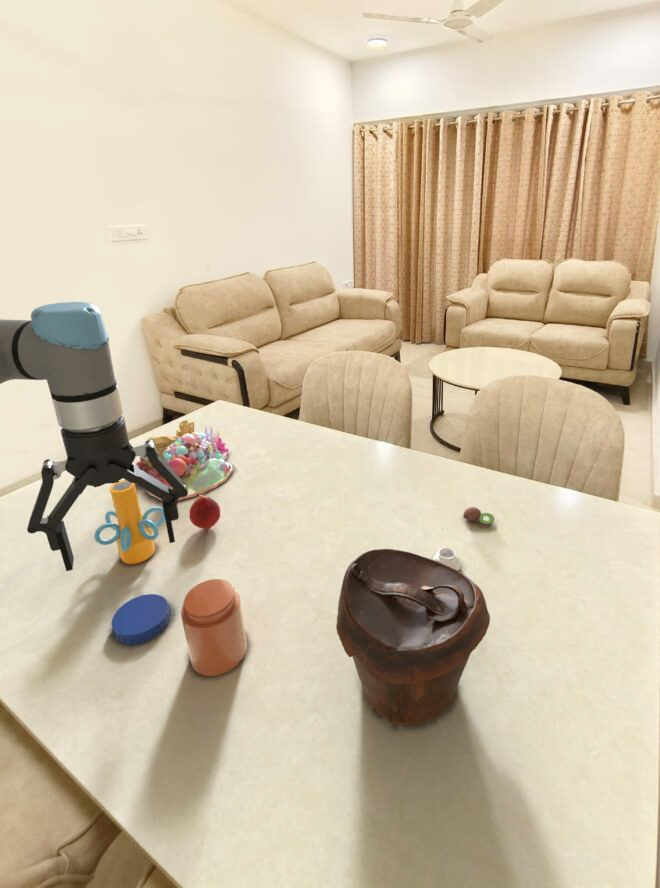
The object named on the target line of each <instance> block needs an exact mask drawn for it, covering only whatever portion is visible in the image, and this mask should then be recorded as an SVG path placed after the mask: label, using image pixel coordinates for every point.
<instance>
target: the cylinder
mask: <svg viewBox="0 0 660 888" xmlns="http://www.w3.org/2000/svg"><path fill="white" fill-rule="evenodd" d="M109 493H110V495H111V500H112V504H113V508H114V510H108V511H107V512H106V513H105V516H104V518H105V519H104V520H105V522H106V523H104V524H102V525H100V526H99V527H98V528H97V529H96V530H95V533H94V540H95V542H96V543H97V544H99V545H102V546H107V545H111V544H113V543H115V542H116V545H117V549H118V554H119V557H120V560H121V562H123V563H124V564H127V565H136V564H139V563H142V562H144V561H147V560H149V558H151V557H152V556H153V554H155V551H156V546H155V542H154V540H156V539H157V538H158V537H159V535H160V532H159V528H158V527H159V526H161V525H162V524H164V522H166V521H165V515H164V510H163V507H161V506H153V507H150V508H149V509H146V511H145V512H144V513H143V514H142V509H141V506H140V501H139V497H138V492H137V488H136V484H135V483H130V482H129V481H127V480H125V479H124V480H122V479H121V480H119V482H117V483H112V484H111V485H110V487H109ZM154 512H159V513H161V517H160V519H159V520H158V521H156V522H154V521H152V520H150V519H148V516H149V515H150V514H152V513H154ZM111 516H113V517H115V518H116V520H117V523H115V522H112V519H111ZM107 528H108V529H109V528H110V529H112V530H113V531H116V532H115V535H114V536H113V537H112V538H110V539H105V540H104V539H102V538H101V536H100V535H101V532H103V530H106V529H107ZM151 529H152V530H151Z"/></svg>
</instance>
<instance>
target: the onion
mask: <svg viewBox="0 0 660 888" xmlns="http://www.w3.org/2000/svg"><path fill="white" fill-rule="evenodd" d="M220 517H221V508H220V505H219V504H218V502H217V501H216V500H215V499H213V498H211V497H209V496H204V494H198V498H197V499H196V500H194V502H193V503H192V505H191V506H190V508H189V520H190V523H192V525H194V526H195V527H197V528H198V529H201V530H209V529H211V528H212V527H214V526H215V525H216V524H217V523H218V521H219V520H220Z"/></svg>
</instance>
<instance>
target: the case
mask: <svg viewBox="0 0 660 888" xmlns="http://www.w3.org/2000/svg"><path fill="white" fill-rule="evenodd" d="M485 598H486V597H485V595H484V593H483V591H482V590H481V588H480V586H479V585H477V584H476V583H475V582H473V581H472V580H471V579H470V577H468V576H467V575H466V574H464V573H463V572H461V571H460V570H456V569H454V568H451V567H449V566H447V565H444V564H442V563H440V562H438V561H435V560H433V558H432V559H431V558H428V557H425V556H422V555H419V554H416V553H413V552H410V551H405V550H400V549H393V548H378V549H377V548H376V549H370V550H367V551H364V552H363V553H361V554H359V555H358V556H356V558H354V560H353V561H351V562H350V563H349V565H348V567H346V571H345V572H344V575H343V579H342V583H341V588H340V593H339V598H338V605H337V615H336V625H335V628H336V633H337V635H338V638H339V640H340V643H341V646H342V648H343V650H344V652H345V654H346V655H347V656H348V657H349V658H351V657H352V660H353V663H354V665H355V666H354V667H355V669H356V672H357V676H358V677H359V680H360V683H361V687H362V690H363V694H364V696H365V698H366V699H367V701H368V702H369V704H370V706H371V707H372V708H373V709H374V710H375V712H377V713H378V714H379V715H381V716H382V717H384V718H385V719H387V720H388V721H389V722H390V723H393V724H395V725H398V726H407V725H408V726H409V725H419V724H424V723H426V722H430V721H431V720H434V719H435V718H438V717H439V716H440V715H441V714H443V713H444V712H445V711H446V710H447V709H448V708H449V706H450V705H451V704H452V702H453V700H454V697H455V693H456V690H457V688H458V686H459V683H460V681H461V678H462V676H463V674H464V670H465V668H466V665H467V663H468V661H469V659H470V656H471V654H472V653H473V651H474V650H476V649H477V647H479V644H480V643H481V642H482V641H483V639H484V637H485V636H486V634H487V631H488V629H489V626H490V623H491V615H490V612H489V610H488V605H487V602H486V599H485Z"/></svg>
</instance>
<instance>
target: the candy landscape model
mask: <svg viewBox="0 0 660 888" xmlns="http://www.w3.org/2000/svg"><path fill="white" fill-rule="evenodd" d="M209 427H210V428H209V430H210V431H209V432H208V428H207V426H205V428H204V433H203V432H195V422H194V421H192V422H191V421H189V420H187V419H186V420H182V421H180V422H179V425H178V428H179V429H176V432H175V433H176V435H170V434H169V435H157V436H156V435H155V436H153V437H149V439H148V440H152V441H153V442H154V444H155V447H156V450H157V452H158V454H159V455H160V456H161V457H162V458H163V459H164V460H165V461H166V462H167V463H168V465H169V466H170V467H171V468H172V469H173V470H174V471H175V472H176V473H177V474H178V476H179V477H180V478H181V479H182V480H183V481H184V482H185V483H186V486H187V490H188V495H187V496H186V497H181V498H179V499H178V500H177V501H181V500H184V499H190V498H193V497H196V496H197V495H203V494H205V493H206V492H208V491H211V490H214V489H216V488H218V486H219V485H222V484H223V483H225V482H226V481H227V480H228V479H229V477H231V475H232V473H234V468H233V465H232V463H230V462H227V458H228V457H227V456H228V453H229V451H230V450H229V448H228V447H226V443H225V442H223V440H222V438H221V437H220V433H219V430H216V433H214V430H213V427H212V426H209ZM135 465H136V466H137V467H138V468H139V469H141V470H142V471H144V472H146V473H147V474H149V475H150V476H152V477H154V478H155V479H157V480H159V481H160V482H162V483H164V484H165V485H167V486H168V487H170V488H172V487H171V486H170V485H169V483H168V482H167V481H166V480H165V479H164V478H163V477H162V476H161V475H160V474H159V473H158V472H157V471H156V470H155V468H154V467H153V466H152V465H151V463H150V462H149V460H147V461H146V460H143V459H142V458H141V457H140V456H139V460H138V461H136V462H135ZM172 489H173V488H172ZM145 491H146V493H147V494H149V495H150V496H151V497H154V498H156V499H158V501H162V499H160V498H159V497H157V496H155V495H153V494H152V493H150V492H148V491H147V490H145Z"/></svg>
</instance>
